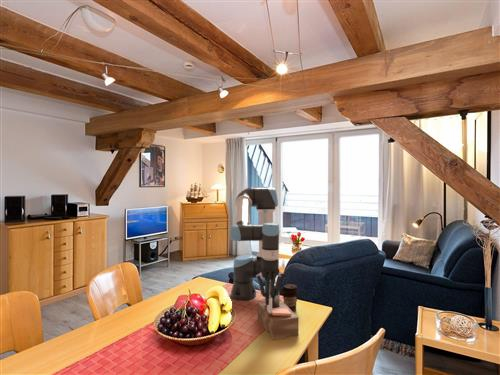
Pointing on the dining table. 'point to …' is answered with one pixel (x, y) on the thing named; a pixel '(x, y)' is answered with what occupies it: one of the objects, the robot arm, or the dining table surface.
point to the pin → (275, 300)
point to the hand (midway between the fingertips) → (269, 311)
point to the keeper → (281, 312)
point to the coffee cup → (290, 296)
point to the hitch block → (278, 322)
